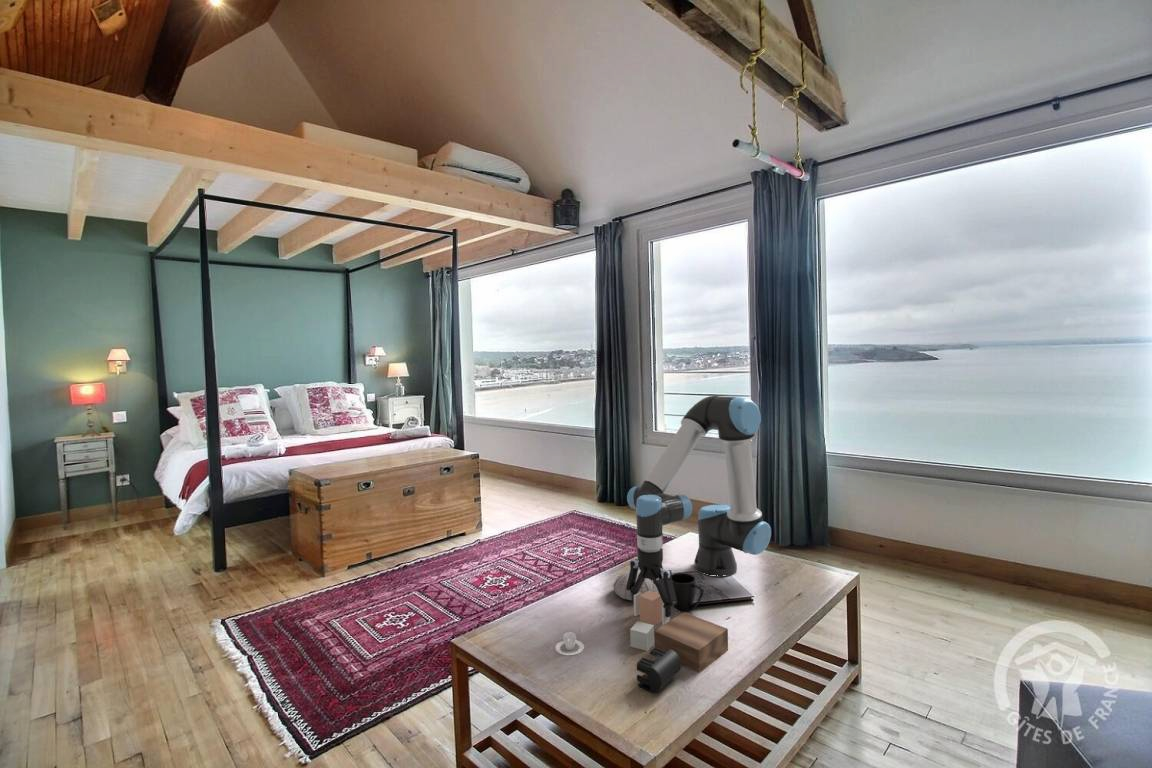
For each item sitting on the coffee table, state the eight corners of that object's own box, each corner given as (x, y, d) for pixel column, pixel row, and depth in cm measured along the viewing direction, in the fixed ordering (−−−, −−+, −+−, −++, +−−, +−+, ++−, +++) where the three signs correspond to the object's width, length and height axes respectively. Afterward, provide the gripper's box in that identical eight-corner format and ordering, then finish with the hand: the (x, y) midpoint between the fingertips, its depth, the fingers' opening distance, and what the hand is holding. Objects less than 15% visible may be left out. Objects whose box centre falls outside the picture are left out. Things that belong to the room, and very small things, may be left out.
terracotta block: (650, 615, 170) (649, 590, 169) (663, 620, 166) (662, 594, 166) (639, 621, 166) (639, 595, 166) (653, 626, 163) (652, 600, 162)
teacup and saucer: (565, 637, 159) (565, 623, 159) (590, 643, 156) (589, 629, 155) (550, 653, 152) (549, 638, 151) (575, 659, 148) (575, 645, 148)
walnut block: (684, 632, 159) (683, 612, 159) (728, 650, 149) (727, 628, 149) (654, 652, 150) (654, 630, 149) (699, 673, 140) (699, 650, 139)
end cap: (661, 699, 130) (661, 671, 130) (636, 688, 134) (635, 661, 134) (682, 678, 138) (681, 652, 137) (657, 668, 142) (656, 643, 142)
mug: (693, 621, 165) (693, 590, 165) (664, 606, 175) (663, 577, 174) (711, 612, 171) (710, 582, 170) (681, 598, 180) (681, 570, 179)
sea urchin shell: (629, 582, 194) (628, 560, 193) (662, 593, 185) (661, 569, 184) (605, 596, 184) (604, 573, 183) (639, 608, 175) (638, 583, 174)
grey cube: (637, 638, 157) (637, 621, 157) (654, 642, 155) (653, 625, 154) (630, 646, 153) (630, 629, 153) (647, 651, 150) (646, 633, 150)
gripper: (613, 542, 170) (615, 612, 172) (673, 561, 154) (675, 638, 156) (628, 536, 175) (630, 604, 177) (689, 553, 159) (690, 628, 161)
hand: (651, 620), depth 166 cm, fingers open, 10 cm apart
